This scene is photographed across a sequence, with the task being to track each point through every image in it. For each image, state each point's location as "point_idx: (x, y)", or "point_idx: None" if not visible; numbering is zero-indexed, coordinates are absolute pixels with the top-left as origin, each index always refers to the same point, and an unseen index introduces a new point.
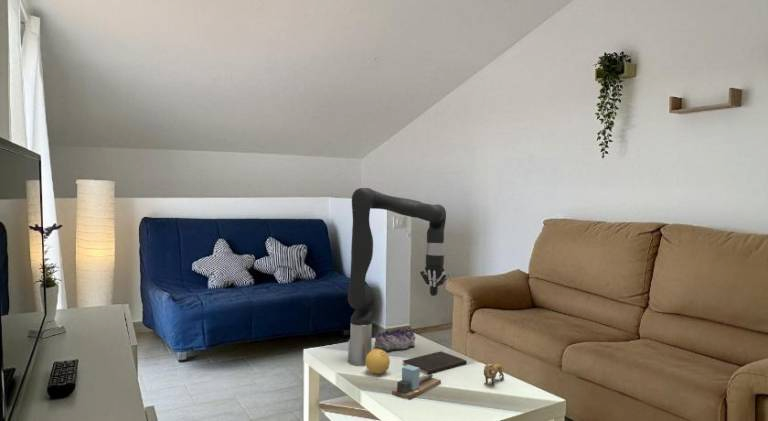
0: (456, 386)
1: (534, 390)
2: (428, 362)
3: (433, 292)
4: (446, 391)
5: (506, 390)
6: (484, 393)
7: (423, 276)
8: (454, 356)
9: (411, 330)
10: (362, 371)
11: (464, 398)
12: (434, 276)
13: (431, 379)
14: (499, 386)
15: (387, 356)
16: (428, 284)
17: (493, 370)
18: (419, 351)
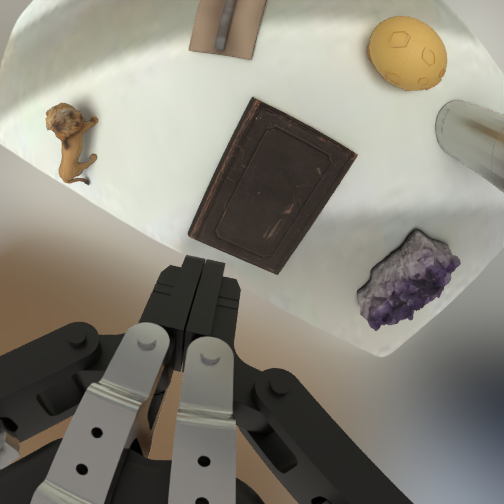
0: (147, 59)
1: (21, 150)
2: (278, 171)
3: (182, 274)
4: (158, 13)
5: None
6: (79, 63)
7: (355, 476)
8: (228, 251)
9: (374, 319)
10: None
11: (107, 6)
12: (87, 466)
13: (215, 39)
14: None
15: (384, 48)
16: (260, 372)
17: (47, 113)
18: (337, 271)
